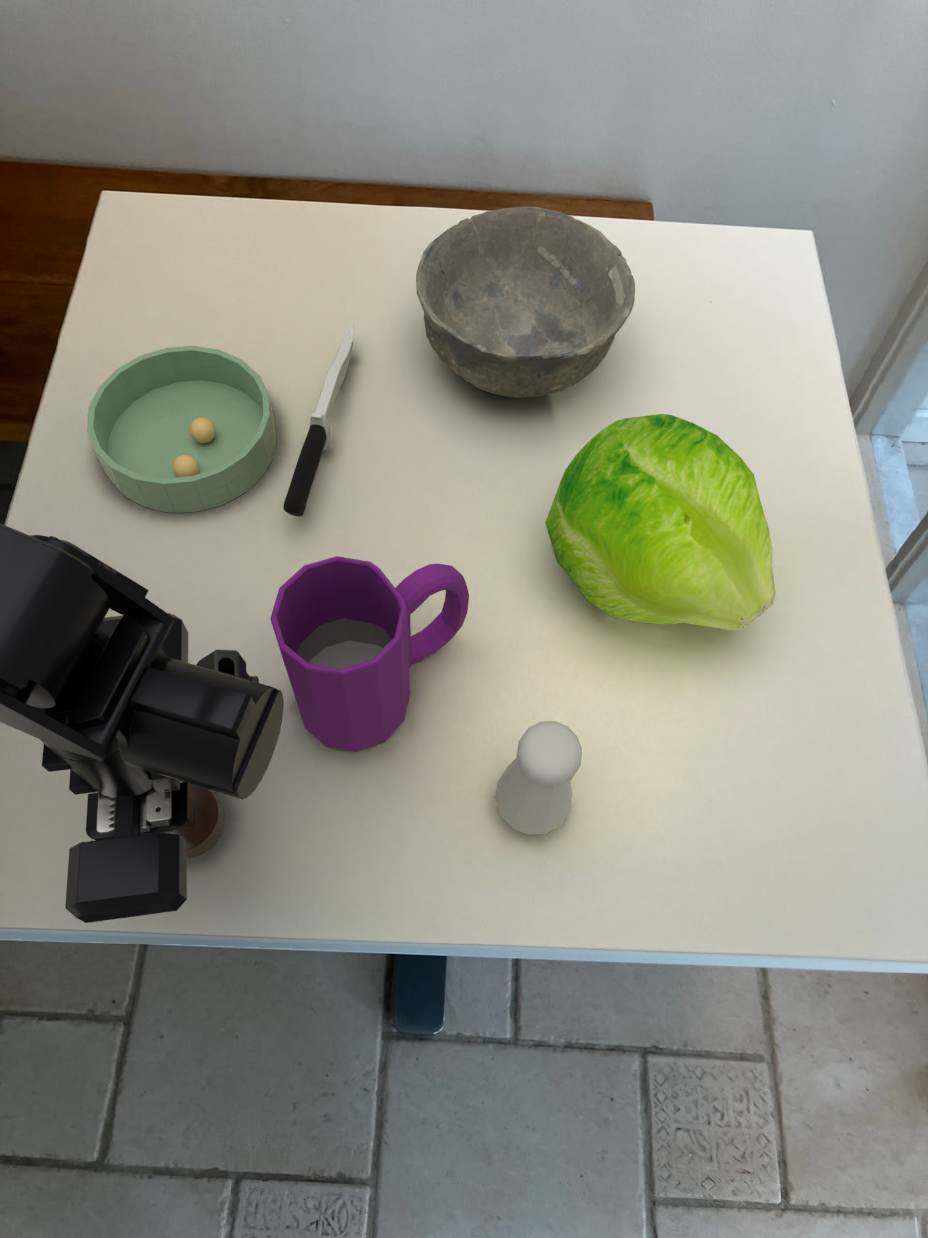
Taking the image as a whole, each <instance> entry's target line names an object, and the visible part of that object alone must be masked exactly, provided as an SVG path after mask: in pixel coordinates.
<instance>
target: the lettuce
mask: <svg viewBox="0 0 928 1238" xmlns="http://www.w3.org/2000/svg"><path fill="white" fill-rule="evenodd" d="M544 524H545V526H546V530H547V534H548V537H549V540H550V544H551V547H552V550H553V553H554V556H555V557H554V558H555V560H556V563H557V564H558V565H559V566H560V568H561V569H562V570H563V571H564V572H565V573H566V574H567V576H568V577H569V579H571V580H572V582H573V583H574V584H575V586H576V587H577V588H578V589H579V591H580V593H582V595H583V596H584V597H585V599H586V601H588V602H589V603H590V604H592V605H593V606H594V607H595V608H597V609H599V610H601V612H603V613H604V614H606V615H608V616H610V617H614V618H618V619H623V620H627V621H631V622H636V623H644V624H645V623H646V624H656V625H667V626H668V625H676V624H690V625H696V626H702V627H709V628H714V629H722V630H728V631H741V630H746V629H747V628H748V627H750V626H751V625H752V624H753V623H754V622H755V621H756V620H757V619H759V618H760V617H761V616H762V615H763V614H764V613H765V612H766V611H768V610H769V609H770V608H771V607H772V606H773V605H774V604H775V599H776V594H777V593H776V587H775V580H774V579H775V578H774V573H773V572H774V571H773V551H774V550H773V549H774V547H773V543H772V538H771V533H770V528H769V524H768V521H767V518H766V515H765V512H764V509H763V505H762V501H761V497H760V493H759V490H758V485H757V480H756V476H755V474H754V473H753V471H752V470H751V469H750V467H749V466H748V465H747V463H746V462H745V460H744V459H743V458H742V457H741V456H740V455H739V454H738V453H737V452H736V451H735V450H734V449H732V448H731V447H730V445H728V443H726V442H725V441H724V440H723V439H722V438H720V437H719V436H718V435H717V434H715V433H713V432H711V431H709V430H708V429H706V428H704V427H702V426H700V425H698V424H696V423H694V422H691V421H689V420H686V419H684V418H680V417H678V416H675V415H672V414H667V413H666V414H665V413H657V414H650V415H641V416H634V417H625V418H620V419H618V420H615V421H613V422H612V423H610V424H608V425H607V426H605V427H603V428H602V429H601V430H600V431H599V432H597V434H596V435H594V436H593V437H592V438H591V439H589V440H588V442H586V444H585V445H584V446H583V447H582V448H580V450H579V451H578V452H577V453H576V454H575V456H574V457H573V459H572V460H571V461H570V463H569V464H568V465H567V467H566V468H565V470H564V471H563V475H562V477H561V479H560V481H559V484H558V487H557V490H556V493H555V495H554V498H553V501H552V503H551V506H550V509H549V512H548V514H547V517H546V520H545V523H544Z"/></svg>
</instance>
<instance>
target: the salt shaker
mask: <svg viewBox="0 0 928 1238" xmlns="http://www.w3.org/2000/svg"><path fill="white" fill-rule="evenodd" d="M582 755H583V747H582V745H581V742H580V739H579V737H578V735H577V734H576V733H575V732H574V731H573V730H572V729H571V728H570V727H569V726H568V725H565V724H563V723H561V722H558V721H555V720H547V721H539V722H537V723H536V724H533V725H532V726H530V727H529V726H528V728H527V729H526V730H525V732H524V733H523V735H522V736H521V738H520V739H519V740H518V744H517V750H516V758H515V759H514V760H513V761H512V762H511V763H509V765H507V766H506V768H505V769H504V771H503V772H502V773H501V775H500V776H499V778H498V779H497V782H496V788H495V793H494V799H495V803H496V805H497V807H498V808H497V809H498V811H499V814H500V817H501V818H502V819H503V820H504V821H505V822H506V823H507V824H508V825H509V826H510V828H511V829H512V830H515V831H518V832H521V833H523V834H526V835H528V836H529V835H530V836H531V835H546V834H548V833H549V832H551V831H553V830H555V829H556V828H558V827H560V826H561V825H562V824H563V823H564V821H565V819H566V818H567V816H568V815H569V813H570V812H571V808H572V798H573V790H572V780H573V778H574V776H575V775H576V773H577V772H578V771H579V769H581V765H582V757H583V756H582Z"/></svg>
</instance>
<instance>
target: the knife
mask: <svg viewBox="0 0 928 1238" xmlns="http://www.w3.org/2000/svg"><path fill="white" fill-rule="evenodd" d="M354 341H355V322H353V323H352V324H351V326H350V327H349V329H348V330H347V332H346V333H345V334H344V336H343V338H342V340H341V344H340V345H339V349H338V351H337V353H336V355H335V358H334V359H333V361H332V363H331V364H330V366H329V369H328V372H327V375H326V377H325V381H324V384H323V387H322V389H321V393H320V396H319V399H318V402H317V405H316V408H315V411H314V412H311V415H310V418H309V428H308V431H307V434H306V436H305V439H304V442H303V445H302V448H301V450H300V453H299V456H298V459H297V462H296V464H295V467H294V470H293V474H292V477H291V480H290V484H289V487H288V491H287V493H286V495H285V498H284V502H283V506H282V509H283V511H284V512H285V513H287V514H288V515H290V516H293V517H303V516H304V514H305V511H306V507H307V504H308V501H309V500H308V499H309V496H310V493H311V490H312V487H313V483H314V480H315V477H316V474H317V471H318V467H319V464H320V461H321V458H322V455H323V452H325V451H327V448H328V445H329V443H330V436H331V429H330V425H329V422H330V417H331V415H332V412H333V409H334V406H335V403H336V400H337V398H338V396H339V393H340V390H341V389H342V385H343V383H344V380H345V377H346V374H347V372H348V370H349V369H348V368H349V365H350V361H351V356H352V351H353V347H354Z"/></svg>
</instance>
